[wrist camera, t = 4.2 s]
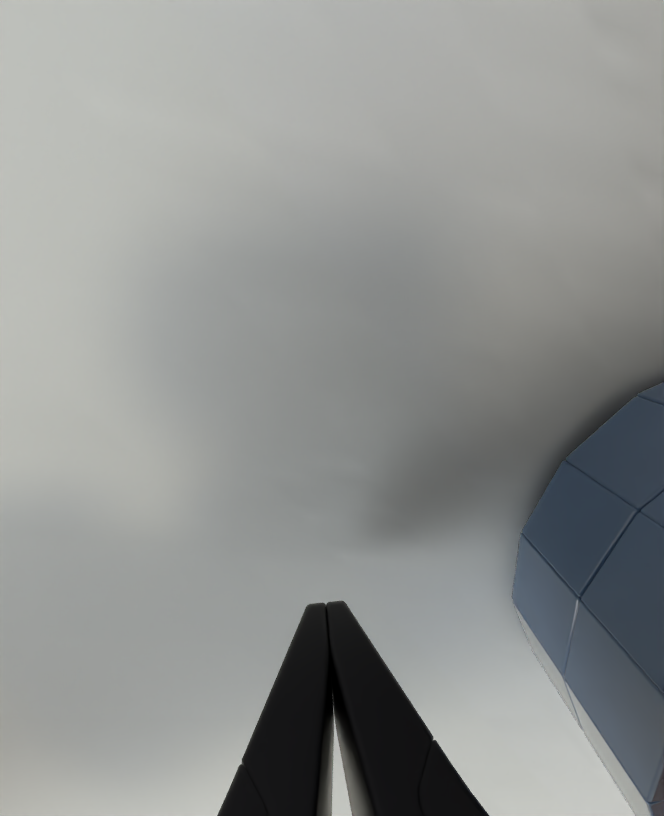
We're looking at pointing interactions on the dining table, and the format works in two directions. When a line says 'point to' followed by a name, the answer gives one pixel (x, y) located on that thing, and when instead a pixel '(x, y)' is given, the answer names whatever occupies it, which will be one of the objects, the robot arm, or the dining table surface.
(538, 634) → the blue-grey round ring piece
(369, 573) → the dining table surface
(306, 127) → the dining table surface
